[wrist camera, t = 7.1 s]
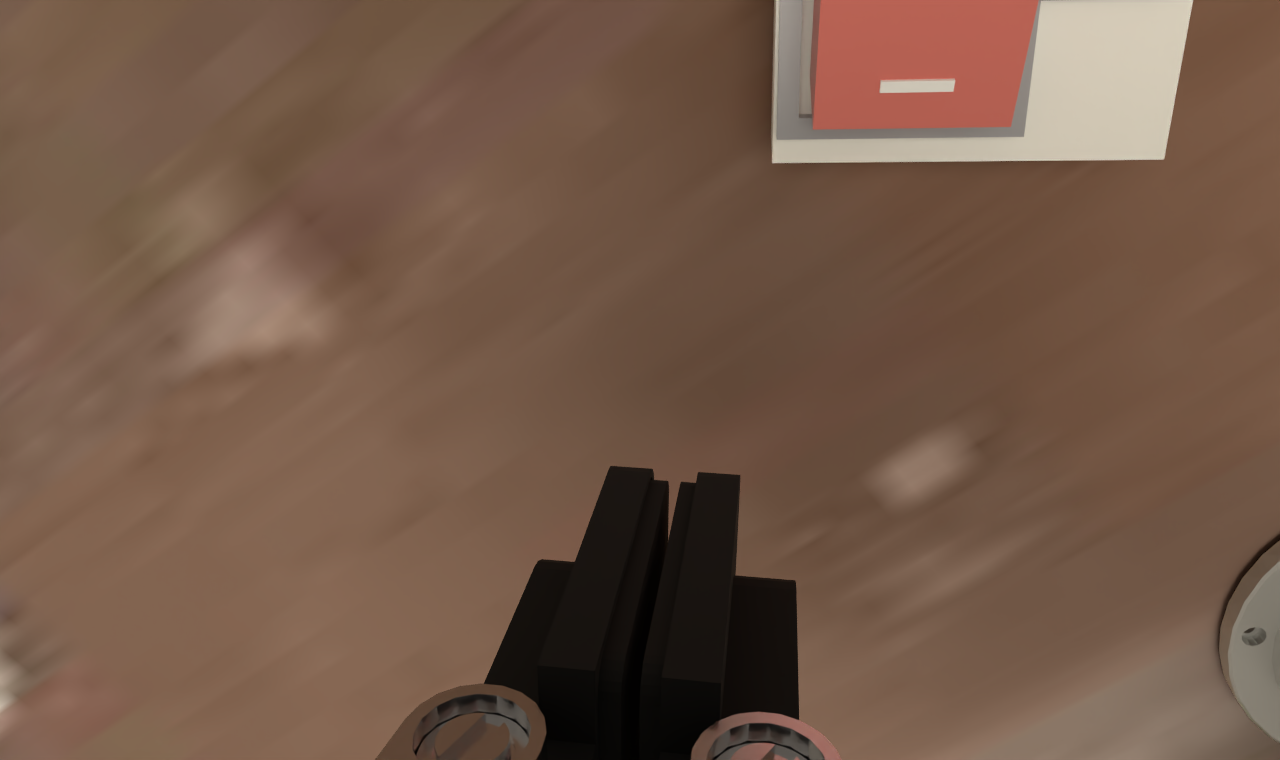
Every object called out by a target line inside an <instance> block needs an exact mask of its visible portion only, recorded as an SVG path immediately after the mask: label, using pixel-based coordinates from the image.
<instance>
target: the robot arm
mask: <svg viewBox="0 0 1280 760" xmlns="http://www.w3.org/2000/svg"><path fill="white" fill-rule="evenodd" d="M739 494H740V475H731V474H717V473H703V472H698V475H697V481H696V483H688V482H681V484H680V488H679V493H678V497H677V502H676V507H675V512H674V516H673V521H672V526H671V531H670V535H669V540H668V510H669V483H668V481H660V480H654V473H653V469H646V468H632V467H617V466H610V468H609V470H608V473H607V476H606V479H605V481H604V484H603V487H602V490H601V492H600V495H599V498H598V500H597V503H596V506H595V509H594V511H593V514H592V517H591V520H590V522H589V525H588V528H587V530H586V533H585V536H584V539H583V541H582V544H581V547H580V550H579V552H578V555H577V558H576V560H575V562H567V561H555V560H543V559H542V560H539V561H538V562H537V564H536V566H535V567H534V569H533V572H532V574H531V576H530V579H529V581H528V583H527V586H526V588H525V590H524V592H523V595H522V597H521V599H520V602H519V604H518V606H517V609H516V611H515V613H514V615H513V618H512V620H511V622H510V625H509V627H508V629H507V632H506V634H505V636H504V639H503V641H502V643H501V645H500V648H499V650H498V652H497V655H496V657H495V659H494V662H493V664H492V666H491V669H490V671H489V673H488V675H487V678H486V680H485V682H484V684H475V685H466V686H459V687H456V688H453V689H450V690H447V691H444V692H441V693H438V694H436V695H435V696H433V697H431V698H430V699H428V700H426V701H425V702H423V703H421V704H420V705H419V706H418V707H417V708H416V709H415V710H414V711H413V712H412V713H411V714H410V715H409V716H408V717H407V718H406V719H405V720H404V721H403V723H402V724H401V725H400V727H399V728H398V730H397V731H396V732H395V734H394V735H393V736H392V738H391V739H390V740H389V742H388V743H387V744H386V746H385V747H384V748H383V750H382V751H381V752H380V754H379V755H378V756H377V758H376V759H375V760H841V758H840V756H839V754H838V752H837V750H836V748H835V747H834V746H833V745H832V744H831V743H830V742H829V741H828V740H827V738H826V737H825V736H824V735H823V734H822V733H820V732H819V731H817V730H816V729H814V728H812V727H811V726H809V725H807V724H806V723H804V722H802V721H800V720H799V694H798V648H797V602H796V582H795V581H794V580H782V579H770V578H758V577H746V576H735V572H736V553H737V533H738V514H739ZM1219 655H1220V660H1221V665H1222V670H1223V675H1224V677H1225V679H1226V681H1227V683H1228V685H1229V687H1230V689H1231V691H1232V693H1233V695H1234V697H1235V698H1236V700H1237V701H1238V702H1239V704H1240V705H1241V707H1242V708H1243V710H1244V711H1245V712H1246V714H1247V715H1248V717H1249V718H1250V720H1251V721H1252V722H1254V723H1255V724H1256V725H1257V726H1258V727H1259V728H1260V729H1261V730H1262V731H1263V732H1264V733H1265V734H1266V735H1267V736H1269V737H1270V738H1272V739H1273V740H1275V741H1276V742H1278V743H1279V744H1280V540H1279V541H1278V542H1277V543H1276V544H1275V545H1273V546H1272V547H1271V548H1270V549H1269V550H1267V551H1266V552H1265V553H1264V554H1263V555H1262V556H1261V557H1260V558H1259V559H1258V560H1257V562H1256V563H1255V564H1254V565H1253V566H1252V567H1251V569H1250V570H1249V571H1248V572H1247V573H1246V574H1245V575H1244V577H1243V578H1242V580H1241V581H1240V583H1239V585H1238V587H1237V588H1236V590H1235V592H1234V593H1233V595H1232V597H1231V599H1230V600H1229V602H1228V605H1227V608H1226V611H1225V615H1224V618H1223V621H1222V624H1221V627H1220V643H1219Z"/></svg>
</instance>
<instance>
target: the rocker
mask: <svg viewBox="0 0 1280 760" xmlns="http://www.w3.org/2000/svg"><path fill="white" fill-rule="evenodd" d="M1038 1H1039V0H814V9H813V27H812V45H811V62H810V90H811V107H812V124H813V130H822V129H897V128H972V127H1011V124H1012V120H1013V115H1014V111H1015V106H1016V101H1017V97H1018V92H1019V88H1020V83H1021V79H1022V74H1023V70H1024V65H1025V61H1026V56H1027V51H1028V47H1029V42H1030V38H1031V33H1032V29H1033V24H1034V20H1035V15H1036V11H1037V6H1038Z"/></svg>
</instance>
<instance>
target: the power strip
mask: <svg viewBox="0 0 1280 760" xmlns="http://www.w3.org/2000/svg"><path fill="white" fill-rule="evenodd" d="M1192 3H1193V0H1039V1H1038V6H1037V11H1036V15H1035V20H1034V24H1033V29H1032V33H1031V38H1030V42H1029V47H1028V51H1027V56H1026V61H1025V65H1024V70H1023V74H1022V79H1021V83H1020V88H1019V92H1018V97H1017V101H1016V106H1015V111H1014V115H1013V120H1012V124H1011V127H972V128H897V129H822V130H813V124H812V107H811V90H810V62H811V45H812V27H813V9H814V0H774V30H773V74H772V117H771V148H772V163H841V162H951V161H1061V160H1164V157H1165V151H1166V146H1167V140H1168V135H1169V129H1170V124H1171V118H1172V113H1173V107H1174V102H1175V96H1176V91H1177V85H1178V80H1179V74H1180V69H1181V63H1182V58H1183V52H1184V47H1185V42H1186V36H1187V31H1188V25H1189V20H1190V14H1191V9H1192Z"/></svg>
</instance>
